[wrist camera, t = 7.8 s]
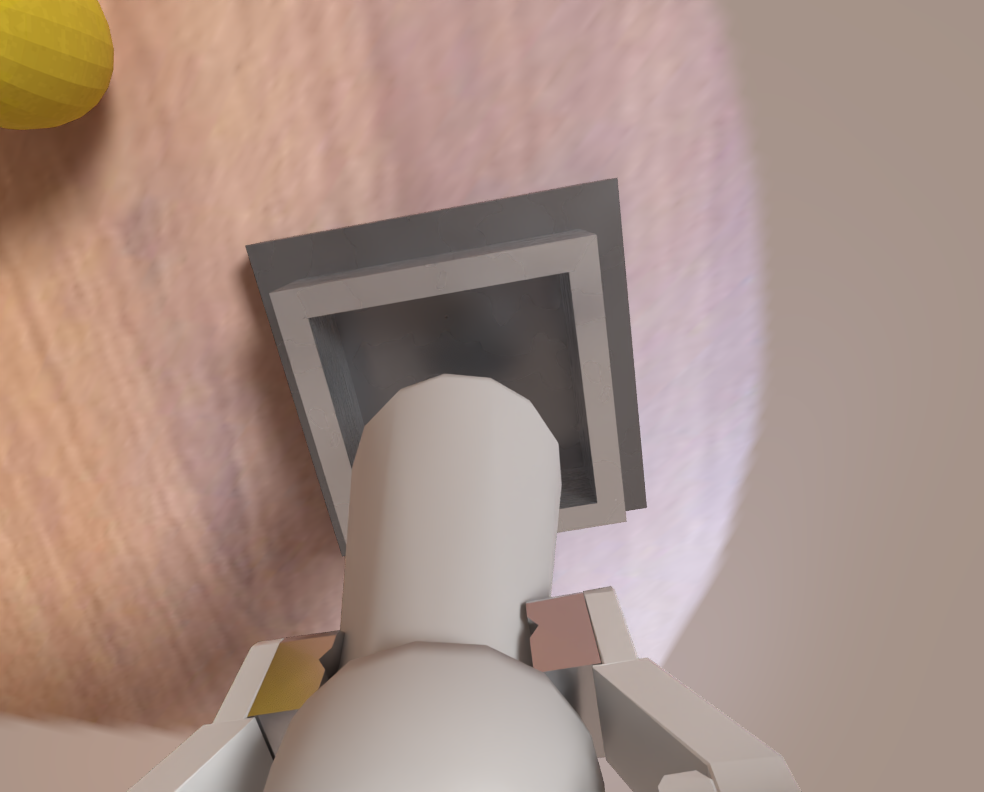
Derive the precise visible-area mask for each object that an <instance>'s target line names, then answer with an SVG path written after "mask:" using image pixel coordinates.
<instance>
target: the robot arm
mask: <svg viewBox="0 0 984 792" xmlns="http://www.w3.org/2000/svg"><path fill="white" fill-rule="evenodd" d="M526 611H527V619H528V625H529V630H530V634H531V637H530V645H531V653H532V662H533V668H535V669H537V670H539V671H541V672H543V673H545V674H546V676H547V677H548V678H549V679H550V680H551V682H552V683H553V684H554V685H555V687H556V688H557V689H558V690H559V691H560V693H561V694H562V695H563V696H564V698H565V699H566V700H567V701H568V702H569V704H570V705H571V706H572V707H573V709H574V710H575V711H576V712H577V713H578V715H579V716H580V718H581V719H582V721H583V723H584V724H585V726H586V728H587V729H588V731H589V733H590V734H591V736H592V740H593V744H594V747H595V751H596V755H597V758H602V757H606V760H607V762H608V763H609V764H610V765H611V766H612V768H613V769H614V770H615V771H616V772H617V773H618V774H619V776H620V777H621V778H622V779H623V780H624V782H625V783H626V784H627V785H628V786H629V787H630V789H631V790H632V791H633V792H802V791H801V790H800V788H799V786H798V784H797V782H796V780H795V779H794V777H793V775H792V773H791V771H790V769H789V767H788V766H787V764H786V762H785V760H784V758H783V756H782V755H780V754H779V753H778V752H776V751H775V750H773V749H772V748H771V747H769V746H768V745H767V744H765V743H764V742H763V741H761V740H760V739H758V738H757V737H756V736H754V735H753V734H752V733H750V732H749V731H748V730H746V729H745V728H743V727H742V726H741V725H739V724H738V723H737V722H735V721H734V720H732V719H731V718H730V717H728V716H727V715H726V714H724V713H723V712H722V711H720V710H719V709H717V708H716V707H715V706H713V705H712V704H711V703H709V702H708V701H707V700H705V699H704V698H702V697H701V696H700V695H698V694H697V693H695V692H694V691H693V690H692V689H690V688H689V687H687V686H686V685H685V684H683V683H682V682H680V681H679V680H678V679H676V678H675V677H674V676H672V675H671V674H670V673H668V672H667V671H666V670H664V669H663V668H661V667H660V666H659V665H657V664H656V663H655V662H653V661H652V660H651V659H649V658H641V659H639V658H638V655H637V652H636V650H635V647H634V644H633V641H632V638H631V635H630V632H629V630H628V627H627V624H626V621H625V618H624V615H623V612H622V609H621V607H620V604H619V601H618V598H617V595H616V592H615V589H613V588H612V587H611V586H609V587H604V588H598V589H593V590H587V591H583V593H582V592H580V593H574V594H568V595H562V596H555V597H549V598H543V599H537V600H531V601H526ZM344 636H345V632H343V631H341V630H338V631H331V632H323V633H316V634H308V635H301V636H293V637H286V638H282V639H274V640H267V641H260V642H257V643H256V644H254V645H253V646H252V647H251V648H250V650H249V652H248V654H247V656H246V658H245V660H244V662H243V664H242V666H241V668H240V670H239V672H238V674H237V676H236V678H235V679H234V681H233V683H232V685H231V687H230V689H229V691H228V693H227V695H226V697H225V699H224V701H223V703H222V705H221V707H220V709H219V711H218V713H217V715H216V717H215V719H214V721H213V723H212V724H207V725H203V726H201V727H200V728H199V729H198V730H197V731H196V732H194V733H193V734H192V735H191V736H190V737H189V738H188V739H186V740H185V741H184V742H183V743H182V744H181V745H179V746H178V747H177V748H176V749H175V750H174V751H173V752H171V753H170V754H169V755H168V756H167V757H166V758H164V759H163V760H162V761H161V762H160V763H159V764H158V765H157V766H155V767H154V768H153V769H152V770H151V771H149V773H147V774H146V775H145V776H144V777H142V778H141V779H140V780H139V781H138V782H137V783H136V784H134V785H133V786H132V787H131V788H130V789H129V790H128V791H126V792H263V791H264V788H265V784H266V781H267V778H268V775H269V772H270V768H271V766H272V763H273V761H274V759H275V756H276V754H277V752H278V749H279V747H280V745H281V742H282V740H283V737H284V735H285V733H286V730H287V728H288V726H289V723H290V721H291V719H292V718H293V716H294V715H295V714H296V713H297V711H298V710H299V709H300V708H301V707H302V705H303V704H304V703H305V702H306V700H307V699H308V698H310V697H311V696H312V695H313V694H314V693H315V692H316V691H317V690H318V689H319V688H321V687H322V686H323V685H324V684H325V683H326V682H327V681H328V680H329V679H330V678H332V677H333V676H334V675H335V674H336V673H337V671H338V669H339V665H340V660H341V654H342V648H343V642H344Z"/></svg>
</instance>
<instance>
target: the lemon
mask: <svg viewBox="0 0 984 792" xmlns="http://www.w3.org/2000/svg"><path fill="white" fill-rule="evenodd" d="M113 62H114V48H113V44H112V39H111V34H110V29H109V25H108V23H107V20H106V18H105V16H104V14H103V11H102V9H101V7H100V4H99V2H98V1H97V0H0V127H2V128H7V129H16V130H28V129H41V128H51V127H57V126H60V125H63V124H66V123H68V122H71V121H73V120H76V119H78V118H80V117H82V116H83V115H85V114H86V113H87V112H88V111H90V110H91V109H92V108H93V107H94V106H96V105H97V104H98V103H99V101H100V99H101V98H102V96H103V95H104V93H105V92H106V90H107V88H108V87H109V83H110V79H111V76H112V72H113Z"/></svg>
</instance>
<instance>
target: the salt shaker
mask: <svg viewBox="0 0 984 792" xmlns="http://www.w3.org/2000/svg"><path fill="white" fill-rule="evenodd" d="M561 486H562V483H561V470H560V458H559V445H558V442H557V440H556V439H555V437H554V436H553V434H552V433H551V431H550V430H549V428H548V427H547V425H546V424H545V422H544V421H543V419H542V418H541V416H540V415H539V413H538V412H537V410H536V409H535V407H534V406H533V404H532V403H531V402H530V400H528V399H526V398H525V397H523V396H521V395H519V394H518V393H516V392H514V391H513V390H511V389H509V388H507V387H506V386H504V385H502V384H501V383H499V382H497V381H495V380H494V379H492V378H487V377H476V376H465V375H455V374H442V375H439V376H436V377H433V378H430V379H427V380H425V381H422V382H419V383H416V384H413V385H410V386H407V387H405V388H402V389H400V390H399V391H398V392H397V393H396V394H395V395H394V396H393V397H392V398H391V399H390V400H389V401H388V402H387V403H386V405H385V406H384V407H383V408H382V409H381V410H380V411H379V412H378V413H377V414H376V415H375V416H374V417H373V418H372V419H371V420H370V421H369V422H368V423H367V424H366V425H365V427H364V430H363V433H362V437H361V440H360V443H359V447H358V450H357V453H356V456H355V460H354V463H353V466H352V475H351V489H350V502H349V516H348V529H347V543H346V557H345V570H344V584H343V597H342V611H341V625H340V630H341V631H343V632H345V636H344V642H343V648H342V654H341V660H340V665H339V669H338V671H337V673H336V674H335V675H334V676H333V677H332V678H330V679H329V680H328V681H327V682H326V683H325V684H324V685H323V686H322V687H321V688H319V689H318V690H317V691H316V692H315V693H314V694H313V695H312V696H311V697H310V698H308V699H307V700H306V702H305V703H304V704H303V705H302V707H301V708H300V709H299V710H298V711H297V713H296V714H295V715H294V716H293V718H292V719H291V721H290V723H289V726H288V728H287V730H286V733H285V735H284V737H283V740H282V742H281V745H280V747H279V749H278V752H277V754H276V756H275V759H274V761H273V763H272V766H271V768H270V772H269V775H268V778H267V781H266V784H265V788H264V791H263V792H605V788H604V781H603V777H602V773H601V770H600V766H599V762H598V759H597V755H596V751H595V747H594V744H593V740H592V736H591V734H590V733H589V731H588V729H587V728H586V726H585V724H584V723H583V721H582V719H581V718H580V716H579V715H578V713H577V712H576V711H575V710H574V709H573V707H572V706H571V705H570V704H569V702H568V701H567V700H566V699H565V698H564V696H563V695H562V694H561V693H560V691H559V690H558V689H557V688H556V687H555V685H554V684H553V683H552V682H551V680H550V679H549V678H548V677H547V676H546V674H545V673H543V672H541V671H539V670H537V669H535V668H533V662H532V653H531V645H530V637H531V634H530V630H529V625H528V619H527V611H526V601H531V600H537V599H543V598H549V597H551V589H552V579H553V569H554V558H555V548H556V538H557V527H558V517H559V507H560V496H561Z"/></svg>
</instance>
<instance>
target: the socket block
mask: <svg viewBox="0 0 984 792" xmlns="http://www.w3.org/2000/svg"><path fill="white" fill-rule="evenodd" d="M246 250H247V253H248V256H249V259H250V262H251V266H252V269H253V272H254V275H255V278H256V282H257V285H258V288H259V291H260V294H261V298H262V301H263V304H264V307H265V310H266V314H267V317H268V320H269V323H270V327H271V330H272V333H273V336H274V339H275V343H276V346H277V349H278V352H279V355H280V359H281V362H282V365H283V368H284V371H285V375H286V378H287V381H288V384H289V387H290V391H291V394H292V397H293V400H294V403H295V407H296V410H297V413H298V416H299V419H300V423H301V426H302V429H303V432H304V435H305V439H306V442H307V445H308V448H309V451H310V455H311V458H312V461H313V464H314V467H315V471H316V474H317V477H318V480H319V483H320V487H321V490H322V493H323V496H324V500H325V503H326V506H327V509H328V512H329V516H330V519H331V522H332V525H333V528H334V532H335V535H336V538H337V541H338V544H339V548H340V551H341V554H342V557H343V556H346V543H347V529H348V516H349V502H350V489H351V475H352V466H353V463H354V460H355V456H356V453H357V450H358V447H359V443H360V440H361V437H362V433H363V430H364V427H365V425H366V424H367V423H368V422H369V421H370V420H371V419H372V418H373V417H374V416H375V415H376V414H377V413H378V412H379V411H380V410H381V409H382V408H383V407H384V406H385V405H386V403H387V402H388V401H389V400H390V399H391V398H392V397H393V396H394V395H395V394H396V393H397V392H398V391H399V390H400V389H402V388H405V387H407V386H410V385H413V384H416V383H419V382H422V381H425V380H427V379H430V378H433V377H436V376H439V375H442V374H455V375H465V376H476V377H487V378H492V379H494V380H495V381H497V382H499V383H501V384H502V385H504V386H506V387H507V388H509V389H511V390H513V391H514V392H516V393H518V394H519V395H521V396H523V397H525V398H526V399H528V400H530V402H531V403H532V404H533V406H534V407H535V409H536V410H537V412H538V413H539V415H540V416H541V418H542V419H543V421H544V422H545V424H546V425H547V427H548V428H549V430H550V431H551V433H552V434H553V436H554V437H555V439H556V440H557V442H558V445H559V458H560V470H561V483H562V486H561V496H560V507H559V517H558V527H557V533H558V532H565V531H571V530H577V529H583V528H590V527H596V526H602V525H608V524H615V523H621V522H627V521H626V512H625V511H629V510H635V509H642V508H647V505H646V494H645V482H644V471H643V460H642V449H641V438H640V426H639V415H638V404H637V393H636V382H635V370H634V359H633V348H632V337H631V326H630V314H629V303H628V292H627V281H626V270H625V258H624V247H623V236H622V225H621V214H620V202H619V191H618V180H617V178H613V179H605V180H600V181H594V182H589V183H583V184H578V185H572V186H567V187H562V188H556V189H551V190H545V191H540V192H534V193H529V194H523V195H518V196H512V197H507V198H501V199H496V200H490V201H485V202H479V203H474V204H468V205H463V206H457V207H452V208H446V209H441V210H435V211H430V212H424V213H419V214H413V215H408V216H402V217H397V218H392V219H386V220H381V221H375V222H370V223H364V224H359V225H353V226H348V227H342V228H337V229H331V230H326V231H320V232H315V233H309V234H304V235H298V236H293V237H287V238H282V239H276V240H271V241H265V242H260V243H256V244H251V245H247V246H246Z"/></svg>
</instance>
